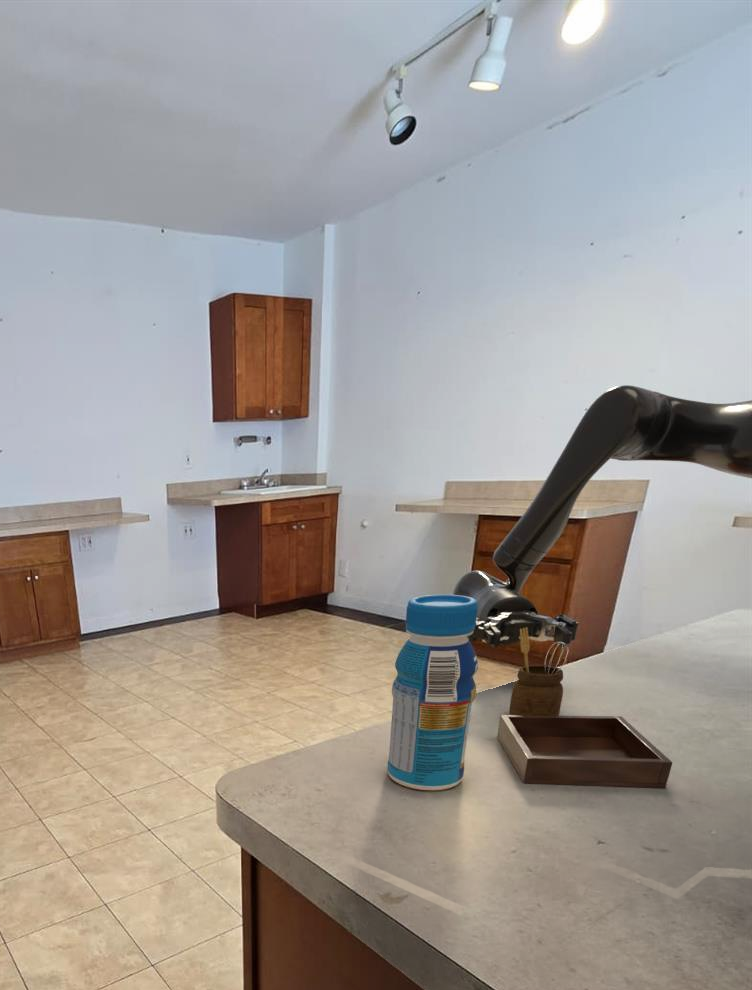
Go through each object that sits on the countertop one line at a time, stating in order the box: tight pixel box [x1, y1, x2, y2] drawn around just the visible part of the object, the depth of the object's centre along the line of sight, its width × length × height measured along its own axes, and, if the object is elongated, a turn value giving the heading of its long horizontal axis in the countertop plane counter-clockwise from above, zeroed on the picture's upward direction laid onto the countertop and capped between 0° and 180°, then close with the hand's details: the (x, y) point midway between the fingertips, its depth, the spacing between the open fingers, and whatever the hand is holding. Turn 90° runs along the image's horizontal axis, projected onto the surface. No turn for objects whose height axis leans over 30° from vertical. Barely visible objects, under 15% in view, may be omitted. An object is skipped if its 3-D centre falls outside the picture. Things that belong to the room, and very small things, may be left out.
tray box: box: [496, 714, 673, 789], centre depth 74 cm, size 14×14×3 cm
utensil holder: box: [508, 627, 570, 716], centre depth 84 cm, size 6×6×12 cm
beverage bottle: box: [386, 594, 479, 791], centre depth 69 cm, size 8×8×20 cm
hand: (531, 640), depth 88 cm, fingers open, 8 cm apart
